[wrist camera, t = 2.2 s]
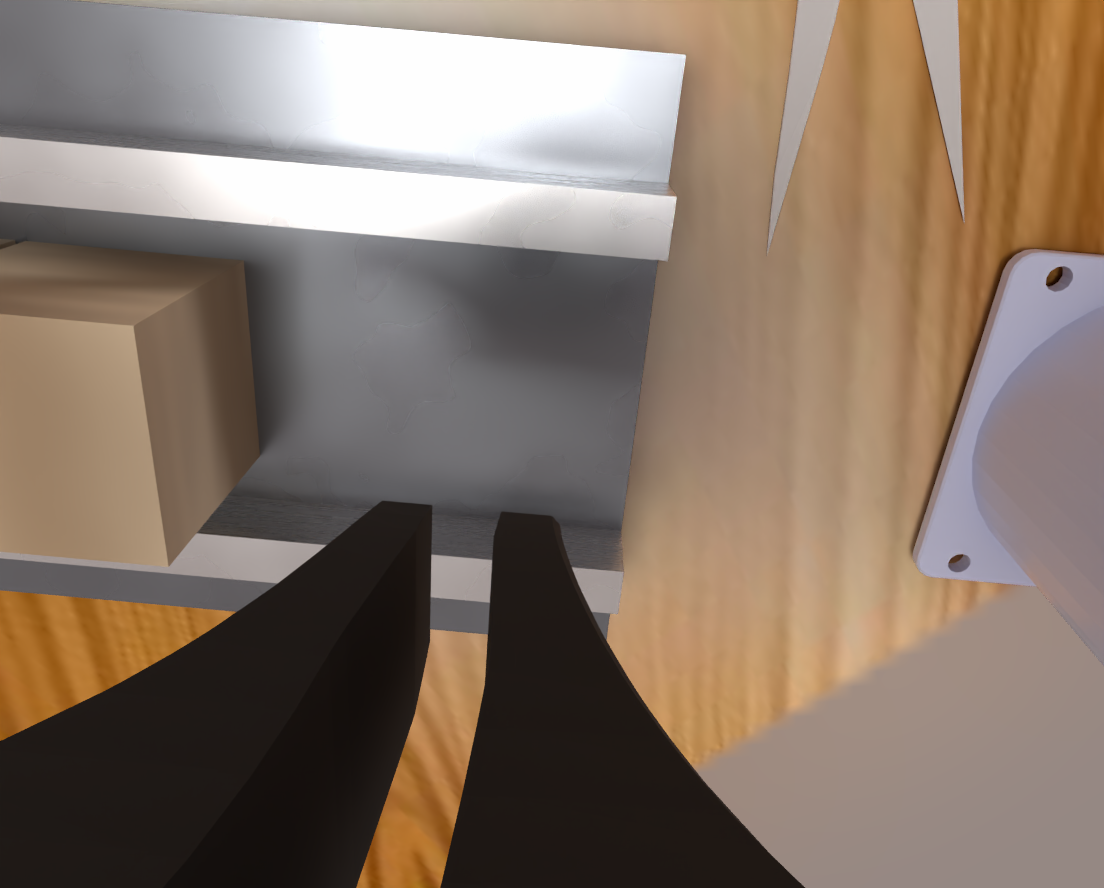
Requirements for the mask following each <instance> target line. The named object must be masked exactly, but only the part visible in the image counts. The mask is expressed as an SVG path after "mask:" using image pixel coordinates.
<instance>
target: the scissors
mask: <svg viewBox="0 0 1104 888" xmlns="http://www.w3.org/2000/svg"><path fill="white" fill-rule="evenodd" d="M913 2H914V6H915V11H916V15H917V19H918V24H919V28H920V32H921V37H922V41H923V46H924V50H925V54H926V59H927V63H928V67H929V72H930V76H931V80H932V85H933V89H934V94H935V98H936V102H937V107H938V111H939V115H940V120H941V124H942V128H943V133H944V137H945V142H946V146H947V150H948V155H949V159H950V163H951V168H952V172H953V176H954V181H955V185H956V190H957V194H958V198H959V203H960V207H961V211H962V216H963V220H964V192H963V159H962V127H961V94H960V62H959V29H958V0H913ZM838 5H839V0H798V2H797V11H796V19H795V27H794V35H793V43H792V51H791V59H790V67H789V75H788V82H787V89H786V96H785V103H784V110H783V116H782V123H781V130H780V137H779V144H778V151H777V158H776V165H775V172H774V181H773V191H772V202H771V212H770V222H769V234H768V245H767V254H768V251H769V247H770V244H771V240H772V237H773V234H774V230H775V227H776V224H777V220H778V217H779V213H780V210H781V207H782V203H783V200H784V196H785V193H786V190H787V186H788V183H789V180H790V176H791V173H792V169H793V166H794V163H795V159H796V156H797V153H798V149H799V146H800V142H801V139H802V136H803V132H804V129H805V126H806V122H807V119H808V115H809V112H810V109H811V105H812V102H813V98H814V95H815V92H816V88H817V85H818V82H819V78H820V75H821V71H822V68H823V64H824V60H825V56H826V53H827V49H828V45H829V41H830V38H831V34H832V30H833V26H834V23H835V19H836V15H837V10H838Z"/></svg>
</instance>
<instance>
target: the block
mask: <svg viewBox="0 0 1104 888" xmlns="http://www.w3.org/2000/svg"><path fill="white" fill-rule="evenodd" d="M259 457H260V450H259V438H258V427H257V415H256V403H255V391H254V379H253V367H252V355H251V343H250V331H249V319H248V307H247V295H246V283H245V271H244V260H233V259H222V258H210V257H199V256H188V255H177V254H166V253H154V252H143V251H132V250H121V249H110V248H98V247H87V246H76V245H65V244H54V243H43V242H31V241H24V242H21V243H18V244H15V245H12V246H9V247H6V248H3V249H0V552H9V553H20V554H31V555H42V556H53V557H64V558H75V559H86V560H97V561H108V562H119V563H130V564H141V565H152V566H163V567H169V566H170V565H171V564H172V562H173V561H174V560H175V559H176V558H177V556H178V555H179V554H180V553H181V551H182V550H183V549H184V548H185V547H186V545H187V544H188V543H189V542H190V540H191V539H192V538H193V537H194V536H195V534H196V533H197V532H198V531H199V530H200V528H201V527H202V526H203V525H204V523H205V522H206V521H207V520H208V519H209V517H210V516H211V515H212V514H213V513H214V511H215V510H216V509H217V508H218V506H219V505H220V504H221V503H222V502H223V500H224V499H225V498H226V497H227V496H228V494H229V493H230V492H231V491H232V489H233V488H234V487H235V486H236V485H237V483H238V482H239V481H240V480H241V478H242V477H243V476H244V475H245V474H246V472H247V471H248V470H249V469H250V468H251V466H252V465H253V464H254V463H255V461H256V460H257V459H258V458H259Z"/></svg>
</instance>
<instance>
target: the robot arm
mask: <svg viewBox="0 0 1104 888" xmlns="http://www.w3.org/2000/svg"><path fill="white" fill-rule="evenodd" d="M1056 267H1062V268H1063V274H1062V277H1061V278H1060V280H1059V282H1057V283H1056V284H1054V285H1053V286H1048V287H1047V285H1046V278H1047V276H1048V275H1049V273H1050V271H1052V270H1053V269H1055V268H1056ZM958 554H964V555H963V557H962V558H961V560H959V561H957V562H956V563H948V562H949V560H950V559H951V558H952V557H954V556H955V555H958ZM431 555H432V505H427V504H416V503H404V502H393V501H381V502H380V503H378V504H377V505H376V506H375V507H373V508H372V509H371V510H369V511H368V512H367V513H366V514H364V515H363V516H362V517H360V518H359V519H358V520H357V521H356V522H354V523H353V524H352V525H351V526H349V527H348V528H347V529H346V530H345V531H343V532H342V533H341V534H340V535H338V536H337V537H336V538H335V539H334V540H332V541H331V542H330V543H329V544H327V545H326V546H325V547H324V548H322V549H321V550H320V551H319V552H318V553H316V554H315V555H314V556H313V557H311V558H310V559H309V560H307V561H306V562H305V563H303V564H302V565H301V566H300V567H298V568H297V569H296V570H294V571H293V572H292V573H290V574H289V575H288V576H287V577H285V578H284V579H283V580H281V581H280V582H279V583H278V584H276V585H275V586H274V587H272V588H271V589H269V590H268V591H266V592H265V593H263V594H262V595H261V596H259V597H258V598H256V599H255V600H253V601H252V602H250V603H249V604H248V605H246V606H245V607H243V608H242V609H240V610H239V611H237V612H236V613H235V614H233V615H232V616H230V617H229V618H227V619H226V620H224V621H223V622H222V623H220V624H219V625H217V626H216V627H214V628H213V629H211V630H210V631H208V632H206V633H205V634H203V635H202V636H200V637H199V638H197V639H195V640H194V641H192V642H190V643H189V644H187V645H185V646H184V647H182V648H181V649H179V650H177V651H176V652H174V653H172V654H171V655H169V656H167V657H165V658H163V659H162V660H160V661H158V662H156V663H155V664H153V665H151V666H149V667H148V668H146V669H144V670H142V671H140V672H139V673H137V674H135V675H133V676H132V677H130V678H128V679H126V680H124V681H123V682H121V683H119V684H117V685H115V686H113V687H111V688H109V689H107V690H106V691H104V692H102V693H100V694H98V695H95V696H93V697H91V698H89V699H87V700H85V701H83V702H81V703H79V704H77V705H75V706H73V707H71V708H68V709H66V710H64V711H62V712H60V713H58V714H56V715H54V716H52V717H50V718H48V719H46V720H44V721H42V722H39V723H37V724H35V725H33V726H31V727H29V728H27V729H25V730H23V731H21V732H19V733H17V734H15V735H12V736H10V737H8V738H6V739H4V740H2V741H0V888H356V886H357V883H358V880H359V877H360V874H361V871H362V869H363V866H364V863H365V860H366V857H367V854H368V851H369V848H370V845H371V842H372V839H373V836H374V833H375V830H376V827H377V825H378V822H379V819H380V816H381V813H382V810H383V807H384V804H385V801H386V798H387V795H388V792H389V789H390V786H391V783H392V781H393V778H394V775H395V772H396V769H397V766H398V763H399V760H400V757H401V754H402V751H403V748H404V745H405V742H406V739H407V736H408V733H409V730H410V727H411V724H412V721H413V718H414V715H415V710H416V705H417V701H418V696H419V692H420V687H421V682H422V677H423V672H424V668H425V663H426V658H427V653H428V648H429V643H430V607H431ZM913 561H914V563H915V565H916V566H917V568H918V570H919V571H920V572H921V573H923V574H924V575H925V576H929V577H934V578H945V579H956V580H967V581H978V582H989V583H1001V584H1012V585H1023V586H1034V587H1038V588H1039V590H1040V591H1041V592H1042V593H1043V594H1044V596H1045V597H1046V598H1047V599H1048V600H1049V602H1050V603H1051V604H1052V605H1053V606H1054V608H1055V609H1056V610H1057V611H1058V612H1059V613H1060V614H1061V616H1062V617H1063V618H1064V619H1065V621H1066V622H1067V623H1068V624H1069V625H1070V626H1071V628H1072V629H1073V630H1074V631H1075V633H1076V634H1077V635H1078V636H1079V637H1080V638H1081V640H1082V641H1083V642H1084V643H1085V644H1086V646H1087V647H1088V648H1089V649H1090V650H1091V651H1092V653H1093V654H1094V655H1095V656H1096V657H1097V659H1098V660H1099V661H1100V662H1101V663H1102V664H1103V666H1104V255H1098V254H1086V253H1075V252H1064V251H1053V250H1041V249H1029V250H1024V251H1022V252H1020V253H1018V254H1016V255H1015V256H1014V257H1012V258H1011V259H1010V260H1009V261H1008V263H1007V264H1006V266H1005V268H1004V270H1003V273H1002V276H1001V279H1000V282H999V285H998V289H997V292H996V295H995V298H994V301H993V304H992V307H991V310H990V313H989V317H988V320H987V323H986V326H985V329H984V332H983V335H982V338H981V342H980V345H979V348H978V351H977V354H976V357H975V360H974V363H973V366H972V370H971V373H970V376H969V379H968V382H967V385H966V388H965V391H964V394H963V398H962V401H961V404H960V407H959V410H958V413H957V416H956V419H955V423H954V426H953V429H952V432H951V435H950V438H949V441H948V444H947V447H946V451H945V454H944V457H943V460H942V463H941V466H940V469H939V472H938V476H937V479H936V482H935V485H934V488H933V491H932V494H931V497H930V500H929V504H928V507H927V510H926V513H925V516H924V519H923V522H922V525H921V529H920V532H919V535H918V538H917V541H916V544H915V547H914V550H913ZM440 888H805V887H804V886H803V885H802V884H801V883H800V882H798V881H797V880H796V879H795V878H794V877H793V876H792V875H791V874H790V873H789V872H788V871H787V870H786V869H785V868H784V867H783V866H782V865H781V864H780V863H779V862H778V861H777V860H776V859H775V858H774V857H773V856H772V855H771V854H770V853H769V852H768V851H767V850H766V849H765V848H764V847H763V846H762V845H761V844H760V842H759V841H758V840H757V839H756V838H755V837H754V836H753V835H752V834H751V833H750V832H749V830H748V829H747V828H746V827H745V826H744V825H743V824H742V823H741V822H740V821H739V819H738V818H737V817H736V816H735V815H734V814H733V813H732V812H731V811H730V810H729V809H728V807H727V806H726V805H725V804H724V803H723V802H722V801H721V800H720V799H719V798H718V797H717V795H716V794H715V793H714V792H713V791H712V790H711V789H710V788H709V787H708V786H707V784H706V783H705V782H704V781H703V780H702V779H701V777H700V776H699V775H698V773H697V772H696V771H695V770H694V768H693V767H692V766H691V765H690V763H689V762H688V761H687V759H686V758H685V757H684V756H683V754H682V753H681V752H680V751H679V749H678V748H677V747H676V746H675V744H674V743H673V742H672V741H671V739H670V738H669V736H668V735H667V734H666V732H665V731H664V730H663V728H662V727H661V725H660V724H659V723H658V721H657V720H656V719H655V717H654V716H653V714H652V713H651V712H650V710H649V709H648V707H647V706H646V704H645V703H644V701H643V700H642V698H641V697H640V695H639V694H638V692H637V691H636V689H635V688H634V686H633V685H632V683H631V681H630V680H629V678H628V677H627V675H626V673H625V672H624V670H623V668H622V667H621V665H620V663H619V662H618V660H617V658H616V657H615V655H614V653H613V651H612V650H611V648H610V646H609V644H608V643H607V641H606V639H605V637H604V635H603V633H602V632H601V630H600V628H599V626H598V624H597V622H596V620H595V618H594V616H593V614H592V612H591V610H590V607H589V605H588V603H587V601H586V599H585V597H584V595H583V593H582V591H581V588H580V586H579V584H578V582H577V579H576V577H575V574H574V572H573V569H572V566H571V564H570V561H569V558H568V555H567V552H566V549H565V546H564V543H563V539H562V534H561V527H560V524H559V523H558V522H557V521H556V520H555V519H554V517H553V516H549V515H537V514H526V513H515V512H504V511H501V514H500V517H499V520H498V523H497V527H496V530H495V534H494V537H493V555H492V572H491V590H490V607H489V625H488V642H487V660H486V677H485V687H484V692H483V698H482V703H481V708H480V713H479V718H478V723H477V728H476V732H475V737H474V742H473V746H472V751H471V756H470V760H469V765H468V770H467V774H466V779H465V784H464V788H463V793H462V798H461V802H460V806H459V811H458V815H457V819H456V823H455V828H454V832H453V836H452V841H451V845H450V849H449V854H448V858H447V862H446V866H445V871H444V875H443V879H442V884H441V887H440Z"/></svg>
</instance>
